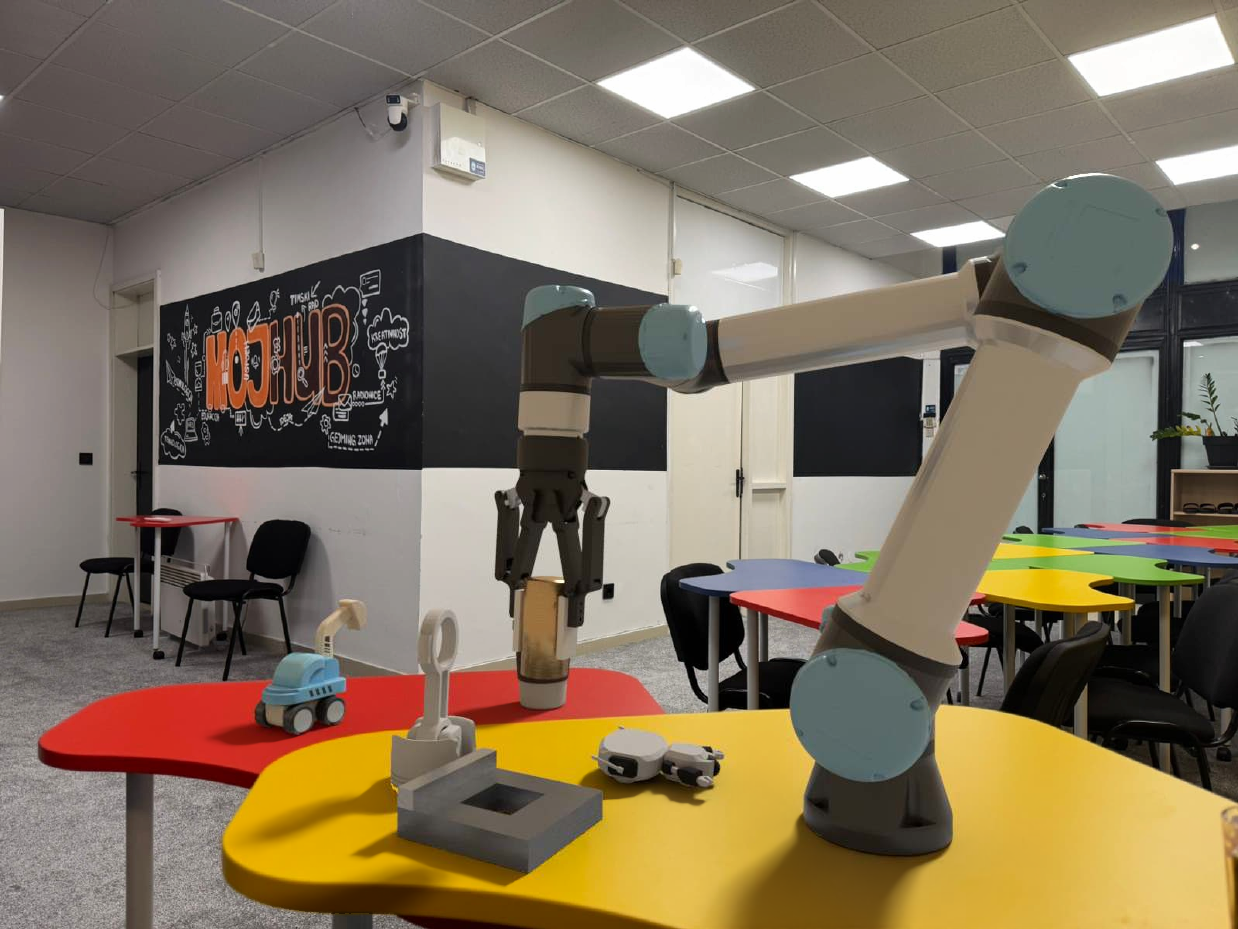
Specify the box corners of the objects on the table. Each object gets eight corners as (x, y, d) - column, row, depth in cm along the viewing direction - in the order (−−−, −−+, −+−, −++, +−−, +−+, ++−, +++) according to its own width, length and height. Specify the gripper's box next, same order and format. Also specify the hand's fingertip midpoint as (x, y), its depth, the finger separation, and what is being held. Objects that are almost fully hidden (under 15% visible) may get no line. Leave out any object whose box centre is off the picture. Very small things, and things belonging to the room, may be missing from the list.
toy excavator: (381, 712, 128) (382, 600, 128) (286, 741, 114) (288, 615, 114) (344, 703, 133) (345, 595, 133) (248, 730, 119) (250, 609, 119)
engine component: (374, 793, 96) (456, 801, 94) (377, 615, 96) (459, 618, 94) (416, 761, 106) (490, 768, 104) (418, 601, 107) (492, 604, 104)
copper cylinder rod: (576, 672, 90) (580, 579, 90) (550, 682, 85) (554, 584, 85) (538, 665, 92) (542, 574, 92) (511, 674, 88) (515, 579, 88)
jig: (602, 818, 89) (602, 772, 89) (528, 873, 77) (528, 819, 77) (482, 790, 97) (482, 747, 97) (397, 836, 84) (397, 787, 84)
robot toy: (725, 774, 106) (612, 754, 110) (728, 739, 106) (615, 719, 110) (709, 812, 94) (583, 787, 98) (713, 772, 94) (586, 749, 98)
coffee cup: (512, 696, 138) (513, 605, 138) (572, 695, 139) (573, 605, 139) (511, 713, 128) (512, 615, 128) (575, 712, 129) (576, 615, 129)
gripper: (644, 438, 87) (635, 660, 87) (507, 434, 96) (499, 635, 96) (608, 434, 81) (597, 674, 81) (465, 431, 90) (455, 646, 90)
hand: (544, 652), depth 89 cm, fingers closed on copper cylinder rod, 5 cm apart
